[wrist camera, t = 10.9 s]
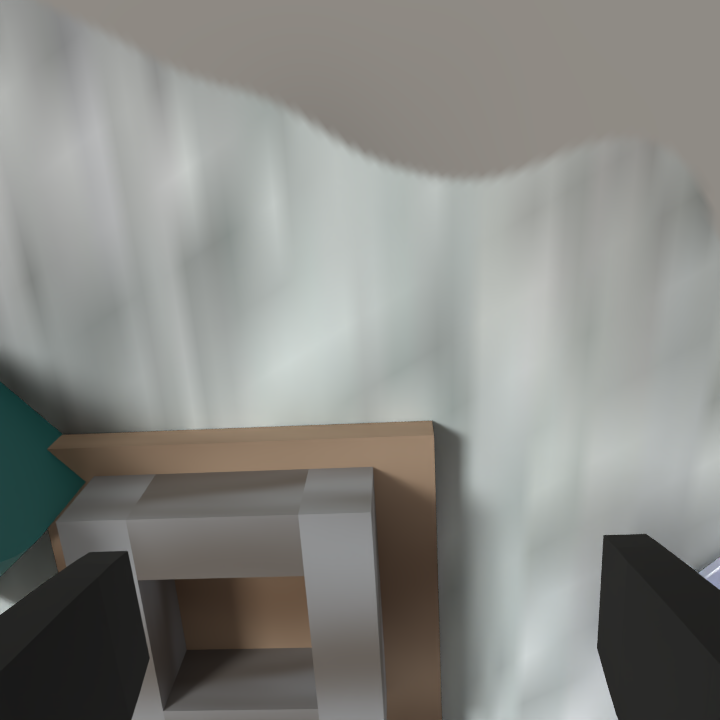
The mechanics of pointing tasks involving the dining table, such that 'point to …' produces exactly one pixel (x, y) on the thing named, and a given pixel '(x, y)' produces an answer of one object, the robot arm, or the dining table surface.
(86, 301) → the dining table surface
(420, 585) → the housing plate
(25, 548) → the bracket
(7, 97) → the dining table surface
